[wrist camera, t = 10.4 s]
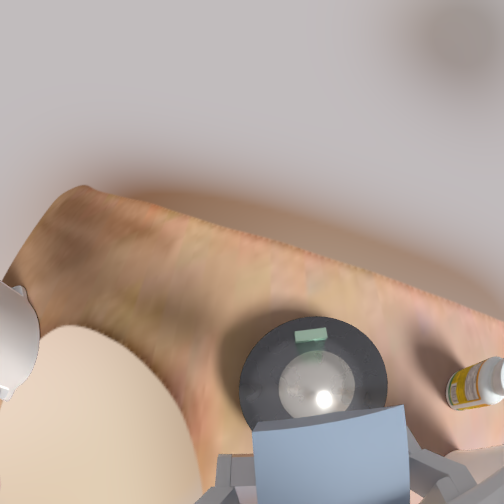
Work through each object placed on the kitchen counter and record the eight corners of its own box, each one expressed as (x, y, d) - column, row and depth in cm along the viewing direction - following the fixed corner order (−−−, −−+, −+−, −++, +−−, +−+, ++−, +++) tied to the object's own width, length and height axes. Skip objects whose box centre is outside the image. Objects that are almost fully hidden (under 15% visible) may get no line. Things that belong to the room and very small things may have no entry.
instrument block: (263, 492, 11) (262, 556, 4) (258, 421, 13) (252, 431, 6) (344, 480, 11) (409, 523, 4) (338, 411, 13) (403, 404, 6)
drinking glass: (424, 459, 20) (516, 464, 7) (466, 435, 20) (556, 421, 7) (428, 502, 16) (510, 525, 4) (469, 477, 16) (554, 479, 4)
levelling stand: (247, 460, 22) (244, 469, 18) (238, 335, 30) (233, 321, 26) (380, 437, 22) (398, 439, 18) (360, 320, 30) (374, 305, 26)
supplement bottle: (437, 396, 24) (489, 382, 16) (457, 362, 26) (507, 338, 18) (461, 419, 22) (513, 409, 13) (479, 384, 23) (530, 366, 15)
